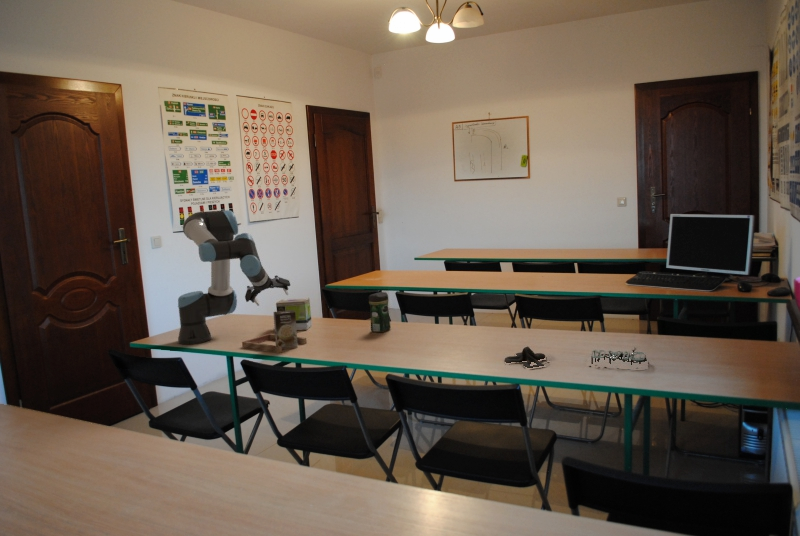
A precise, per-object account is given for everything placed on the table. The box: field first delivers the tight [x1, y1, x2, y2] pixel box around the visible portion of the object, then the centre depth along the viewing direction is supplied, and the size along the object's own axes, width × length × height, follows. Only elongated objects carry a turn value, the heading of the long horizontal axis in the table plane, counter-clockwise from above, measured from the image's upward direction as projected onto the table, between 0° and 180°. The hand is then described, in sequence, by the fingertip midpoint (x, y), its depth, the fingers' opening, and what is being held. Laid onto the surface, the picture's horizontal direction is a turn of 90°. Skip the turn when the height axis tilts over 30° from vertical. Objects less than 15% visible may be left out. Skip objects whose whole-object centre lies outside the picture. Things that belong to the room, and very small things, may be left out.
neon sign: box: [590, 349, 648, 365], centre depth 217 cm, size 21×4×29 cm
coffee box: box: [273, 310, 299, 350], centre depth 259 cm, size 9×6×16 cm
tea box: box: [275, 297, 313, 331], centre depth 295 cm, size 15×10×15 cm
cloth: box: [503, 346, 546, 368], centre depth 219 cm, size 22×19×6 cm
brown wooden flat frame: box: [241, 333, 308, 354], centre depth 264 cm, size 24×17×2 cm
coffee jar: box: [368, 291, 391, 334], centre depth 280 cm, size 10×8×19 cm
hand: (272, 297), depth 262 cm, fingers open, 13 cm apart
